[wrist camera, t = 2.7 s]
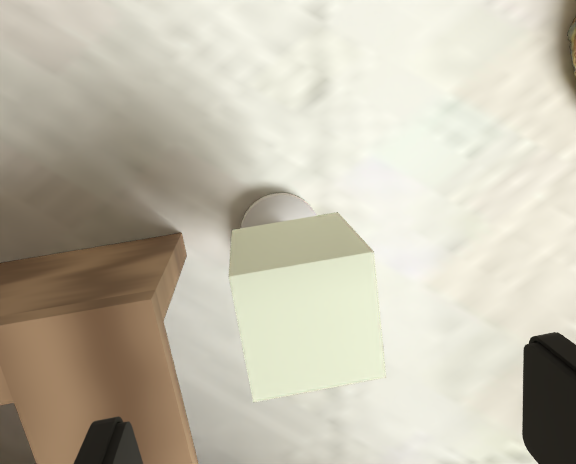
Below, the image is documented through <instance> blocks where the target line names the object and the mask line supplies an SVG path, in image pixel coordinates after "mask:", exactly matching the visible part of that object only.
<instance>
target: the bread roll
mask: <svg viewBox="0 0 576 464" xmlns="http://www.w3.org/2000/svg"><path fill="white" fill-rule="evenodd" d="M567 36H568V40H570V41H571V44H570V50H571V57H572V63H573V67H574V69H575V70H574V75H575V78H576V18H575V19H574V20H573V23H572V25H571V26H570V30H569V31H568V34H567Z"/></svg>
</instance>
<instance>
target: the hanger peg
mask: <svg viewBox="0 0 576 464" xmlns="http://www.w3.org/2000/svg"><path fill="white" fill-rule="evenodd" d="M229 281H230V286H231V291H232V296H233V301H234V307H235V312H236V317H237V322H238V327H239V332H240V337H241V342H242V348H243V353H244V358H245V363H246V368H247V373H248V378H249V383H250V389H251V394H252V399H253V403H254V402H259V401H264V400H270V399H275V398H280V397H285V396H291V395H296V394H301V393H307V392H312V391H317V390H322V389H328V388H333V387H338V386H344V385H349V384H354V383H359V382H365V381H370V380H375V379H380V378H386V373H385V362H384V352H383V342H382V331H381V321H380V311H379V301H378V290H377V280H376V270H375V259H374V251H373V250H372V249H371V248H370V247H369V246H368V245H367V244H366V243H365V242H364V240H363V239H362V238H361V237H360V236H359V235H358V234H357V233H356V232H355V231H354V230H353V228H352V227H351V226H350V225H349V224H348V223H347V222H346V221H345V220H344V219H343V218H342V216H341V215H340V214H339V213H338V212H336V213H330V214H324V215H318V216H317V214H316V213H315V211H314V210H313V208H312V207H311V206H310V205H309V204H308V203H307V202H306V201H305V200H303V199H302V198H300V197H298V196H296V195H292V194H288V193H273V194H269V195H266V196H264V197H262V198H260V199H258V200H257V201H256V202H254V203H253V204H252V205H251V206H250V207H249V209H248V210H247V212H246V213H245V215H244V217H243V220H242V223H241V228H240V229H234V230H232V235H231V250H230V264H229Z"/></svg>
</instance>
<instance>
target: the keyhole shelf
mask: <svg viewBox="0 0 576 464" xmlns="http://www.w3.org/2000/svg"><path fill="white" fill-rule="evenodd" d="M186 256H187V255H186V250H185V245H184V241H183V236H182V233H178V234H172V235H166V236H160V237H154V238H148V239H142V240H136V241H130V242H124V243H118V244H112V245H106V246H100V247H93V248H87V249H81V250H75V251H69V252H63V253H57V254H51V255H45V256H39V257H33V258H27V259H21V260H15V261H9V262H3V263H0V405H5V404H10V403H14V404H15V407H16V410H17V412H18V415H19V418H20V421H21V423H22V426H23V429H24V431H25V434H26V437H27V440H28V442H29V445H30V448H31V450H32V453H33V456H34V459H35V461H36V464H74V461H75V459H76V457H77V455H78V452H79V450H80V448H81V446H82V443H83V441H84V439H85V436H86V434H87V432H88V430H89V427H90V425H91V424H92V422H94V421H97V420H102V419H108V418H113V417H118V416H119V417H121V418H122V420H123V422H128V421H129V422H130V423H131V425H132V428H133V431H134V434H135V438H136V441H137V444H138V448H139V451H140V454H141V458H142V461H143V464H198V460H197V456H196V452H195V448H194V444H193V440H192V436H191V431H190V427H189V423H188V419H187V415H186V411H185V407H184V403H183V399H182V395H181V391H180V387H179V383H178V379H177V375H176V370H175V366H174V362H173V358H172V354H171V350H170V346H169V342H168V338H167V334H166V330H165V326H164V322H163V321H164V318H165V315H166V313H167V310H168V307H169V304H170V301H171V299H172V296H173V293H174V290H175V287H176V284H177V282H178V279H179V276H180V273H181V270H182V268H183V265H184V262H185V259H186Z"/></svg>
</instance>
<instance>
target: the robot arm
mask: <svg viewBox="0 0 576 464" xmlns="http://www.w3.org/2000/svg"><path fill="white" fill-rule="evenodd" d="M522 435H523V441H524V443H525V446H526V448H527V450H528V451H529V453H530V454H531V455H532V456H533V457H534V459H535V460H536V461H537V462H538V464H576V345H575V344H574V343H572V342H571V341H570V340H568V339H567V338H565V337H564V336H563V335H561V334H559V333H555V332H554V333H549V334H544V335H539V336H533V337H532V338H531V339H530V341H529V344H527V345H525V347H524V364H523V430H522ZM74 464H143V461H142V458H141V454H140V451H139V448H138V444H137V441H136V438H135V434H134V431H133V428H132V425H131V423H130V422H129V421H128V422H123V420H122V418H121V417H119V416H118V417H113V418H108V419H102V420H97V421H94V422H92V424H91V425H90V427H89V430H88V432H87V434H86V436H85V439H84V441H83V443H82V446H81V448H80V450H79V452H78V455H77V457H76V459H75V461H74Z"/></svg>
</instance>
